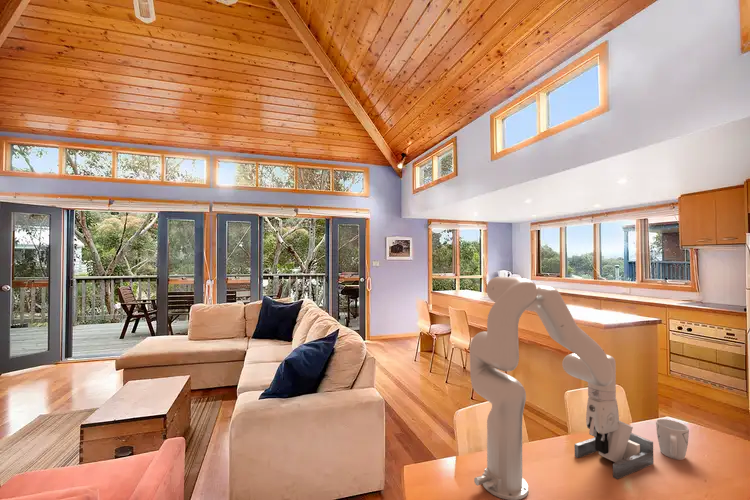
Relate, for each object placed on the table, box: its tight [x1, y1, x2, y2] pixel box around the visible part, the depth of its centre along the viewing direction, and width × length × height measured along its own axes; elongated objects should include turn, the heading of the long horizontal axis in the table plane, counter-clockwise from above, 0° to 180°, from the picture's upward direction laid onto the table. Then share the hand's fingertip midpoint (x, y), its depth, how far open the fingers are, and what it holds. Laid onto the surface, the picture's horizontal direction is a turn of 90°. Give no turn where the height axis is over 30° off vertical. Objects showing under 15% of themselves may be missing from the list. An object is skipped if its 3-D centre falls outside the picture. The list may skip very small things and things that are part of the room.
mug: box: [655, 418, 690, 460], centre depth 116 cm, size 11×8×10 cm
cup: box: [598, 420, 634, 463], centre depth 114 cm, size 8×8×12 cm
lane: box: [574, 432, 655, 480], centre depth 114 cm, size 19×13×7 cm
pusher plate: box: [623, 440, 640, 459], centre depth 116 cm, size 2×10×6 cm, turn 25°
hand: (601, 451), depth 111 cm, fingers closed
